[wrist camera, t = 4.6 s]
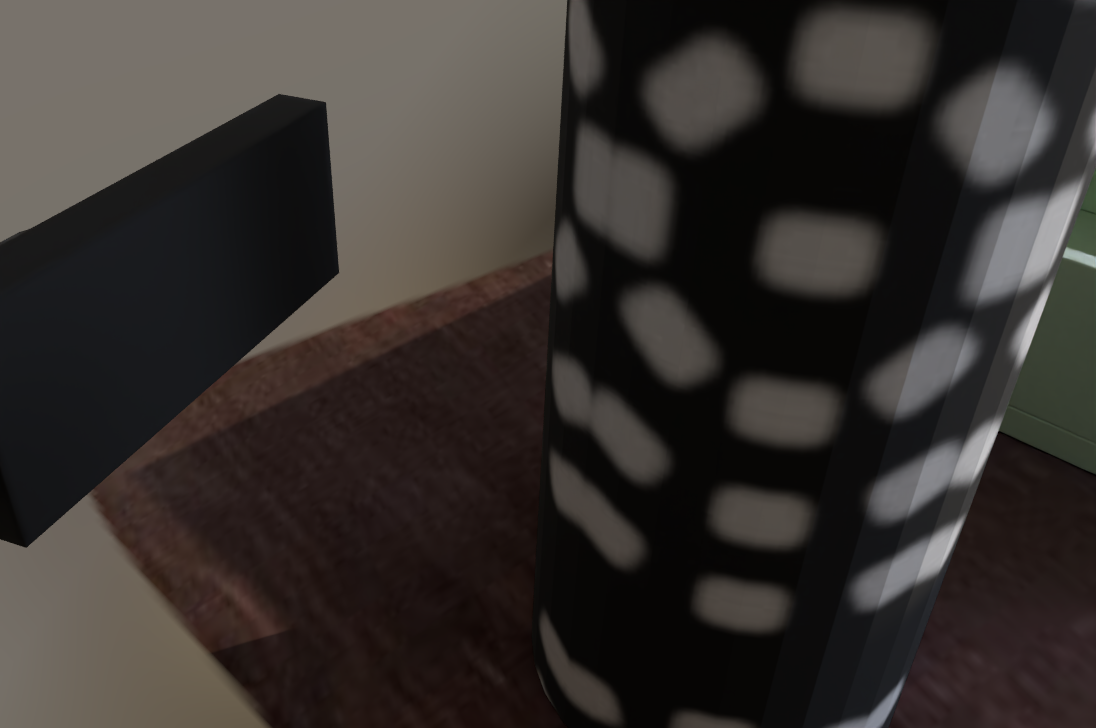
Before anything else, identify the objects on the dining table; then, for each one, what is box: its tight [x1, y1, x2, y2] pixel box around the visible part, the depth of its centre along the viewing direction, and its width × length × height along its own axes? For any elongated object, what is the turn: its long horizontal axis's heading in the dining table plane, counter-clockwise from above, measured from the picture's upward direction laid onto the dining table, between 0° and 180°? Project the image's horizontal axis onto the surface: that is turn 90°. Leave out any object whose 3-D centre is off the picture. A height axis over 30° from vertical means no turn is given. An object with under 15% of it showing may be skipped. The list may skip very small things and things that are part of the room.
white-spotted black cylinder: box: [532, 0, 1096, 728], centre depth 18 cm, size 8×8×20 cm
